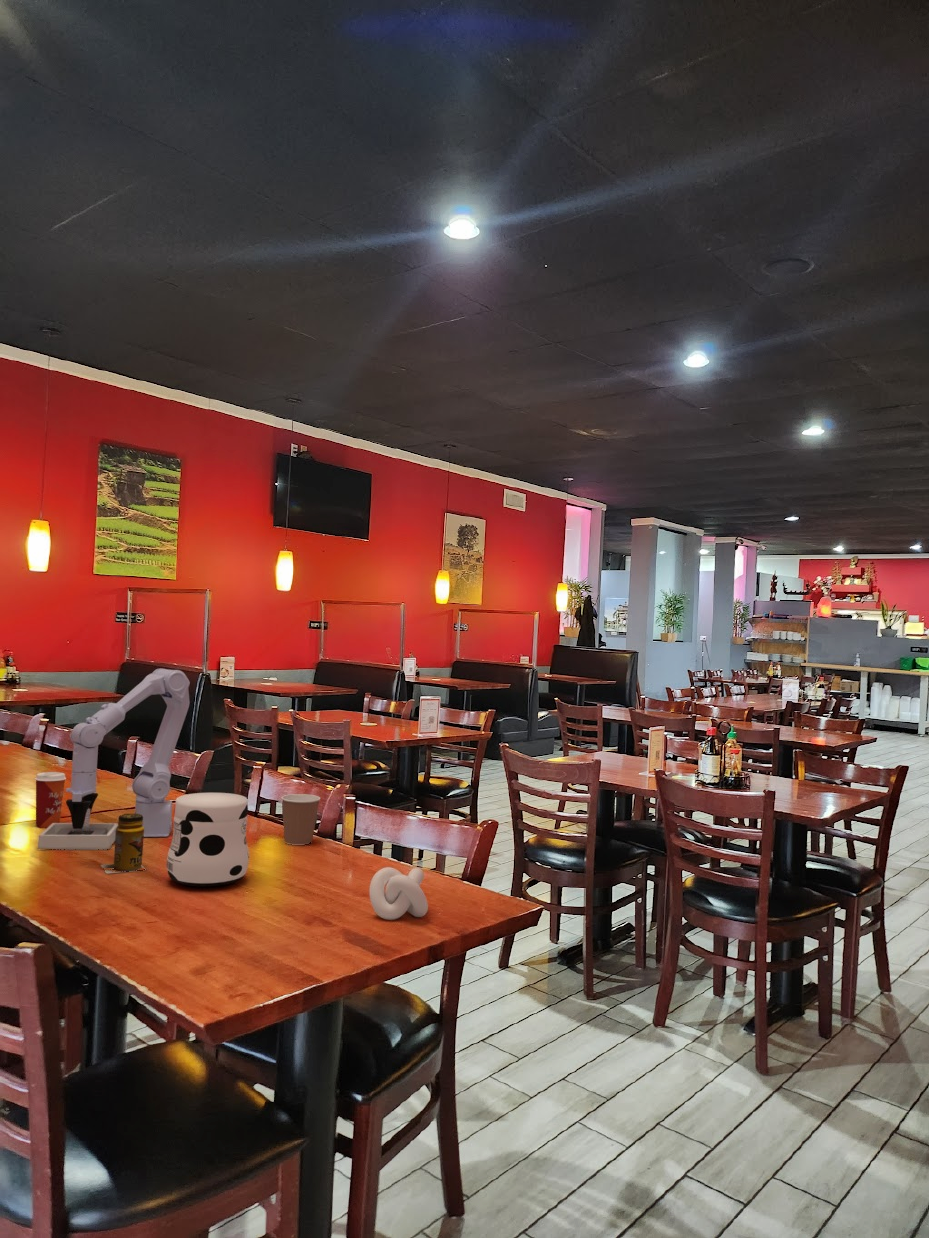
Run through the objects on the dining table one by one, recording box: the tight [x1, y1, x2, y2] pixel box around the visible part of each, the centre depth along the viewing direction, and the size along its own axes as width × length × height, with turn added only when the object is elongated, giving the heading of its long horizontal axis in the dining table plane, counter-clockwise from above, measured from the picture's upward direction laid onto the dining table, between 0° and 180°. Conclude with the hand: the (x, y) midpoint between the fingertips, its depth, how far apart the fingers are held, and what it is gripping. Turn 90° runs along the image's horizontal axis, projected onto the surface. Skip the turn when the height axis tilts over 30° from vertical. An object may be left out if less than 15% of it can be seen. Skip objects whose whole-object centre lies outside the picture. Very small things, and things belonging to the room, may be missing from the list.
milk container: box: [166, 792, 250, 888], centre depth 187 cm, size 17×17×18 cm
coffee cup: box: [280, 793, 321, 846], centre depth 226 cm, size 10×10×12 cm
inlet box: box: [37, 822, 118, 851], centre depth 214 cm, size 16×14×4 cm
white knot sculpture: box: [369, 866, 429, 921], centre depth 170 cm, size 11×12×9 cm
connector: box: [71, 808, 91, 835], centre depth 214 cm, size 4×4×8 cm
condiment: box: [100, 813, 147, 875], centre depth 194 cm, size 7×8×12 cm
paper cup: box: [34, 771, 67, 829], centre depth 231 cm, size 8×8×14 cm
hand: (80, 825), depth 214 cm, fingers open, 6 cm apart
